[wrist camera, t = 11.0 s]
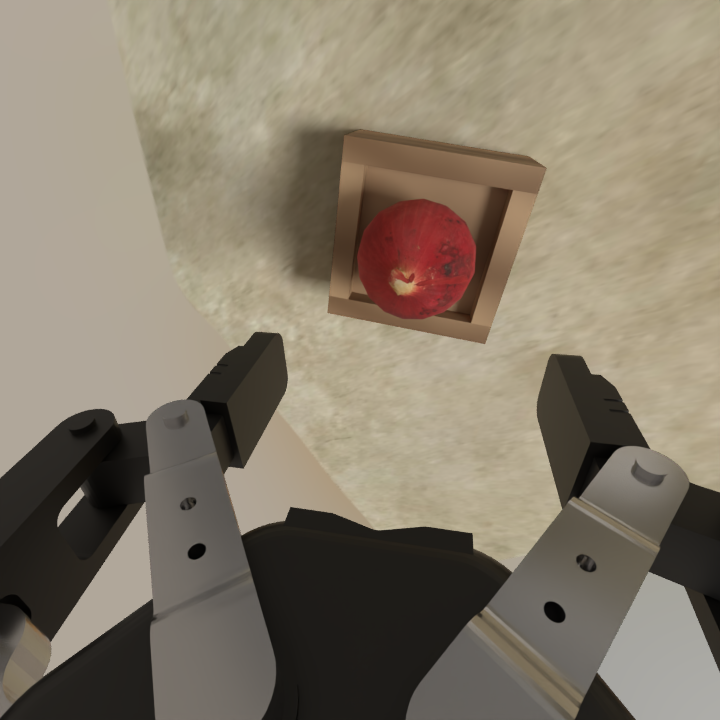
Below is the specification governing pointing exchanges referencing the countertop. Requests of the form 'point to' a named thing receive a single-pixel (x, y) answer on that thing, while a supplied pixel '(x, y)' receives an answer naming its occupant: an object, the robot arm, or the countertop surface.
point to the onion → (416, 259)
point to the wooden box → (444, 186)
